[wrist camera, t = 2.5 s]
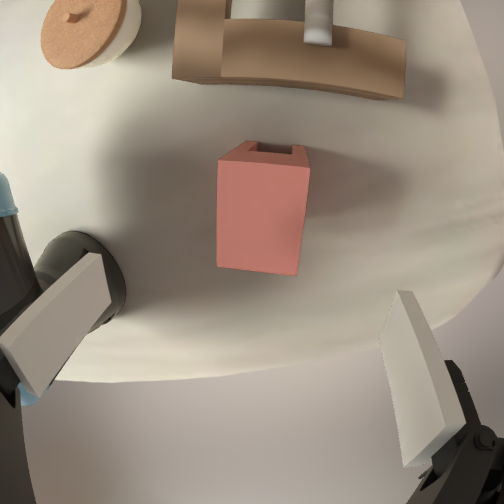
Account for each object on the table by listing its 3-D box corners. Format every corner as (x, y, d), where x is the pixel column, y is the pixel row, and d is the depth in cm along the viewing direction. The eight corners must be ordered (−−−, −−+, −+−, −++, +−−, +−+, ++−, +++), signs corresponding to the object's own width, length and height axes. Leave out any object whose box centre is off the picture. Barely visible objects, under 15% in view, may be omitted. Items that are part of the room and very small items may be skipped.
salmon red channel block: (296, 218, 33) (296, 275, 22) (242, 212, 33) (216, 266, 23) (304, 146, 29) (310, 168, 19) (245, 140, 30) (217, 160, 19)
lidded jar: (166, 47, 26) (121, 31, 17) (90, 85, 28) (37, 88, 20) (147, -22, 21) (105, -49, 13) (76, 19, 24) (26, 10, 16)
